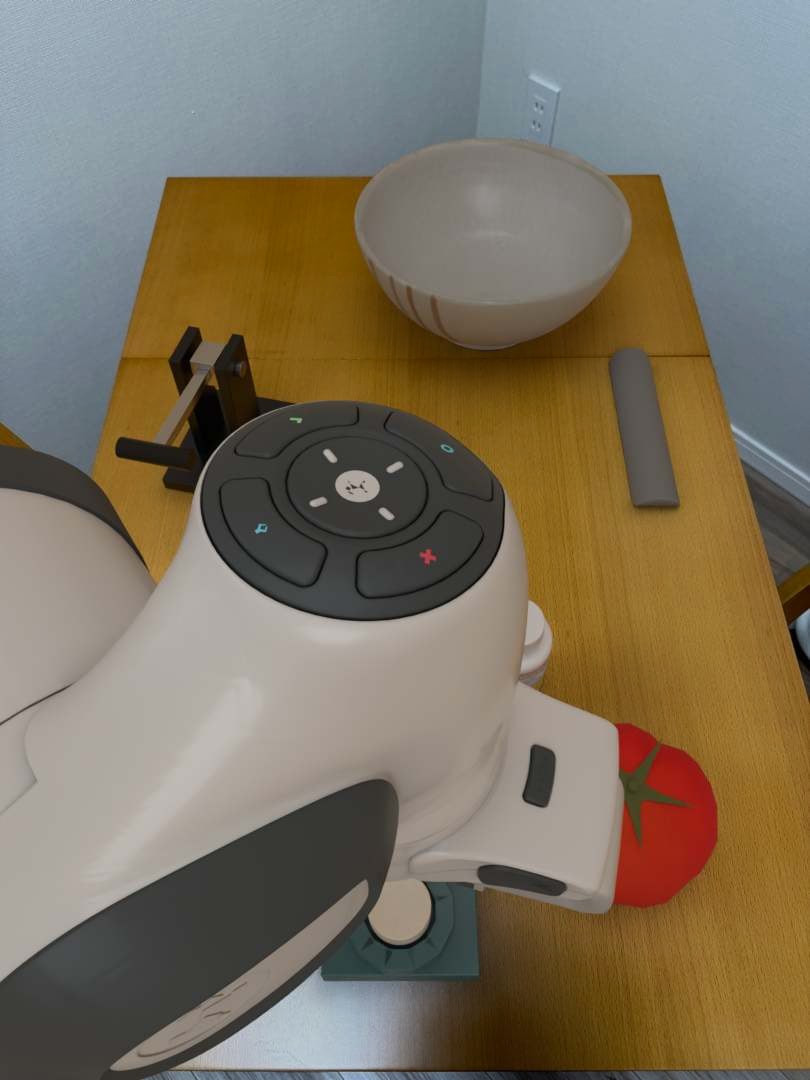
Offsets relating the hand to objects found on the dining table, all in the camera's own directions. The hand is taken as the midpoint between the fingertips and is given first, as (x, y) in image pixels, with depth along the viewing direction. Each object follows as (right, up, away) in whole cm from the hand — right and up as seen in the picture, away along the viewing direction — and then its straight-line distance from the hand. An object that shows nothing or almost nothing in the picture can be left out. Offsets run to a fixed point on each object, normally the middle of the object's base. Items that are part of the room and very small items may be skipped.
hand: (392, 851), depth 43 cm
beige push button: (0, -8, +11) cm, 13 cm away
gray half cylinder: (+23, +26, +39) cm, 53 cm away
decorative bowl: (+9, +40, +49) cm, 64 cm away
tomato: (+15, -5, +17) cm, 24 cm away
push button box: (0, -10, +14) cm, 17 cm away
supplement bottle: (+8, +4, +24) cm, 26 cm away
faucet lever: (-17, +26, +27) cm, 42 cm away
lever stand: (-16, +25, +38) cm, 48 cm away
